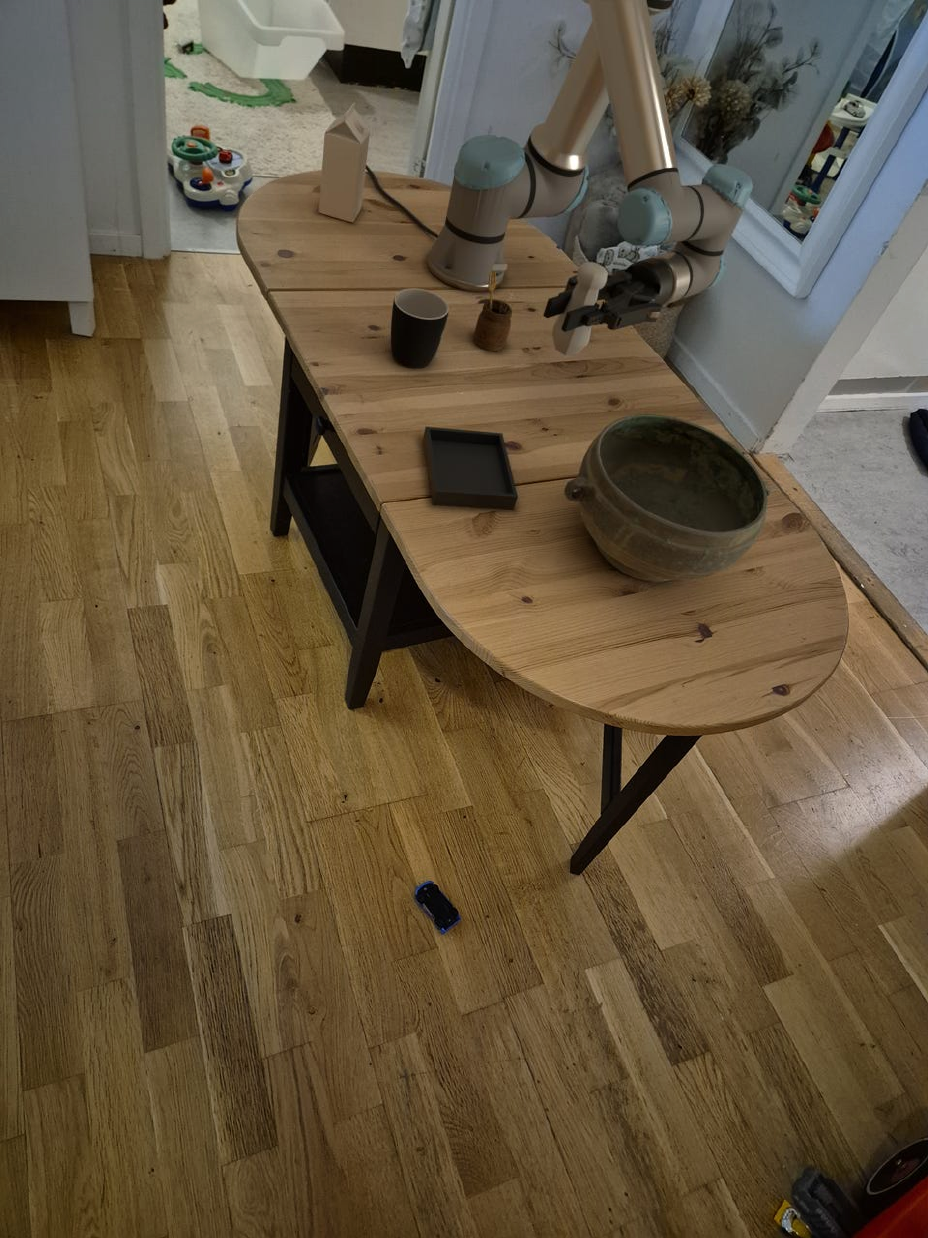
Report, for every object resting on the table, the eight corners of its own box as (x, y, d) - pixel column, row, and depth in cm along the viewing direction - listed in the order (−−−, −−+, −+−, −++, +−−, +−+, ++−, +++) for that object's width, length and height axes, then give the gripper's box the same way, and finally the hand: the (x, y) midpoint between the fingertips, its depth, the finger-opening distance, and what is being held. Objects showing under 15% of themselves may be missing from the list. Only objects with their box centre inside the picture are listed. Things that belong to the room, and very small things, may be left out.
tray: (422, 439, 123) (425, 426, 121) (498, 446, 126) (502, 433, 124) (432, 504, 114) (435, 491, 112) (513, 509, 117) (518, 496, 115)
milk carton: (318, 213, 160) (326, 108, 145) (327, 199, 164) (336, 96, 150) (352, 223, 160) (363, 120, 146) (361, 209, 165) (372, 107, 150)
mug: (442, 374, 135) (455, 320, 127) (391, 372, 132) (400, 317, 124) (426, 333, 141) (437, 279, 134) (377, 330, 138) (385, 275, 131)
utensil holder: (488, 355, 141) (505, 292, 132) (465, 336, 143) (480, 273, 134) (511, 347, 144) (529, 285, 135) (488, 328, 147) (504, 266, 137)
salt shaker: (540, 341, 121) (567, 259, 111) (564, 333, 124) (593, 252, 114) (567, 363, 119) (597, 281, 109) (591, 353, 122) (622, 273, 112)
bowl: (700, 485, 131) (744, 411, 119) (770, 609, 116) (828, 538, 104) (517, 484, 121) (546, 403, 110) (568, 619, 106) (608, 542, 95)
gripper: (682, 331, 126) (588, 369, 113) (609, 278, 132) (511, 309, 119) (703, 286, 120) (606, 321, 107) (626, 234, 126) (525, 261, 113)
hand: (557, 315), depth 113 cm, fingers closed on salt shaker, 3 cm apart
